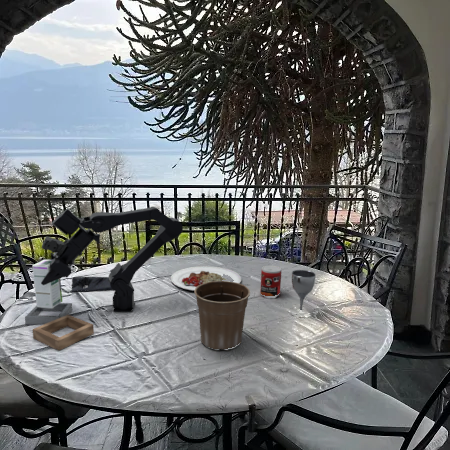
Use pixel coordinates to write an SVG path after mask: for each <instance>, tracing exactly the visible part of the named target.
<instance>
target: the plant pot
mask: <svg viewBox="0 0 450 450" xmlns="http://www.w3.org/2000/svg"><path fill="white" fill-rule="evenodd" d="M194 295H195V296H196V304H197V308H198V319H199V330H200V341H201V344H202V343H203V344H204V345H205V347H206V346H207V347H210V348H213V349H221V350H223V349H228V348H232V347H235V346H236V345H238V344H239V343H240V342H241V343H242V339H243V331H244V325H245V324H244V322H245V315H246V314H245V313H246V308H247V306H248V301H249V297H250V295H251V290H250V289H249V287H248V286H246V285H244V284H242V283H240V284H239V283H235V282H230V281H211V282H207V283H204V284H201V285H199V286H197V287H196V288H195V291H194ZM241 343H240V344H241ZM203 344H202V345H203ZM204 345H203V346H204ZM207 347H206V348H207ZM210 348H209V349H210Z"/></svg>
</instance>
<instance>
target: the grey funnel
mask: <svg viewBox="0 0 450 450" xmlns="http://www.w3.org/2000/svg"><path fill="white" fill-rule="evenodd" d="M315 282H316V273H315V271H314V272H313V271H311V270H308V269H294V270H293V271H292V272H291V284H292V285H291V286H292V289H293V290H294V292H295V293H296V294H297V295H298V297H299V305H300V306H299V309H300V310H303V305H304V300H305V297H307V295H309V294H310V293H312V290H314V286H315Z"/></svg>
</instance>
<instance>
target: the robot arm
mask: <svg viewBox="0 0 450 450" xmlns="http://www.w3.org/2000/svg"><path fill="white" fill-rule="evenodd" d="M152 220H153V221H154V222H156V223H158V225H160V226H159V227H158V230H157V232H156V233H155V235H154V236H153V237H152V238H151V239H149V241H148V242H147V243H146V244H144V246H142V247H141V248H140V249H139V250H138V251H137V252H136V253H135V254H134V255H133V256H132V257H131V258H130V259H128V261H127V262H125V263H124V264H121V263H120V262H118V263H117V264H116V265H115V266H114V268H112V269H110V270H109V272H110V273H109V274H108V276H107V277H108V280H109V283H110V286H111V288H112V289H113V290H112V291H114V292H113V295H112V308H113V310H112V311H113V312H115V313H116V312H118V313H119V312H120V313H123V312H125V313H128V312H129V313H130V312H133V310H134V308H135V306H136V302H135V288H134V287H133V284H132V280H133V278H134V276H135V274H136V272H137V271H138V270H140V268H142V267H143V266H144V265H145V263H146V262H148V261H149V260H150V259H151V258H152V257H153V256H154V254H156V253H157V252H158V251H159V250H160V249H161V248H162V247H163V246H164V245H165V244H167V243H169V242H172V241H173V240H175V239H176V238H177V237H179V236H180V235H182V233H183V231H184V227H183V224H182V223H181V222H180V221H179V220H178V219H177V218H175V217H169V216H167V215H166V214H165V213H164V212H161V210H160V209H159V208H158V207H156V206H150V207H147V208H140V209H134V210H133V209H132V210H127V211H121V212H105V211H102V212H100V211H97V212H96V211H95V212H93V213H91V215H89V216H84V217H79V216H77V215H76V214H74V213H73V212H72V210H70V209H69V208H66V209H65V210H64V211H62V212H60V214H58V215H57V216H56V217H55V218H54V220H52V222H51V225H53V226H54V228H56V229H57V230H59V231H60V232H61V233H62V234H63V235H65V236H70V235H71V237H70V238H69V239H65V241H61V240H59V239H57V238H54V237H51V236H44V237H45V238H44V240H43V242H42V245H41V249H42V250H46V251H50V260H52V262H51V263H50V270H49V272H48V273H47V275H46V276H45V278H44V279H43V280H42V282H41V284H42V285H46V284H48V283H50V282H52V281H55V280H57V279H60V280H61V279H62V278H69V276H70V275H71V274H72V266H73V264H74V262H75V260H76V259H78V257H81V256H82V255H83V252H84V251H85V250H86V249H87V247H88V246H89V245H91V243H93V242H94V241H95V242H96V243H97V244H100V243H101V239H100V238H101V235H100V233H103V232H107V231H109V230H112V229H113V228H116V227H118V226H123V225H129V224H133V223H135V224H136V223H139V222H140V223H141V222H145V221H152Z"/></svg>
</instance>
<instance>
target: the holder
mask: <svg viewBox="0 0 450 450" xmlns="http://www.w3.org/2000/svg"><path fill="white" fill-rule="evenodd" d="M72 311H73V302H61V303H59V304H58V305H56V306H55V307H54V308H53V309H51V308H40V307H37V305H35V306H34V307H33V308H32V310H30V312H28V314H26V316H24V321H25V325H44V324H46V323H49V322H51V321H54V320H56V319H58V318H61V317H63V316H66V315H71V312H72ZM41 312H60V314H58V315H39V314H40V313H41Z"/></svg>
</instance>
